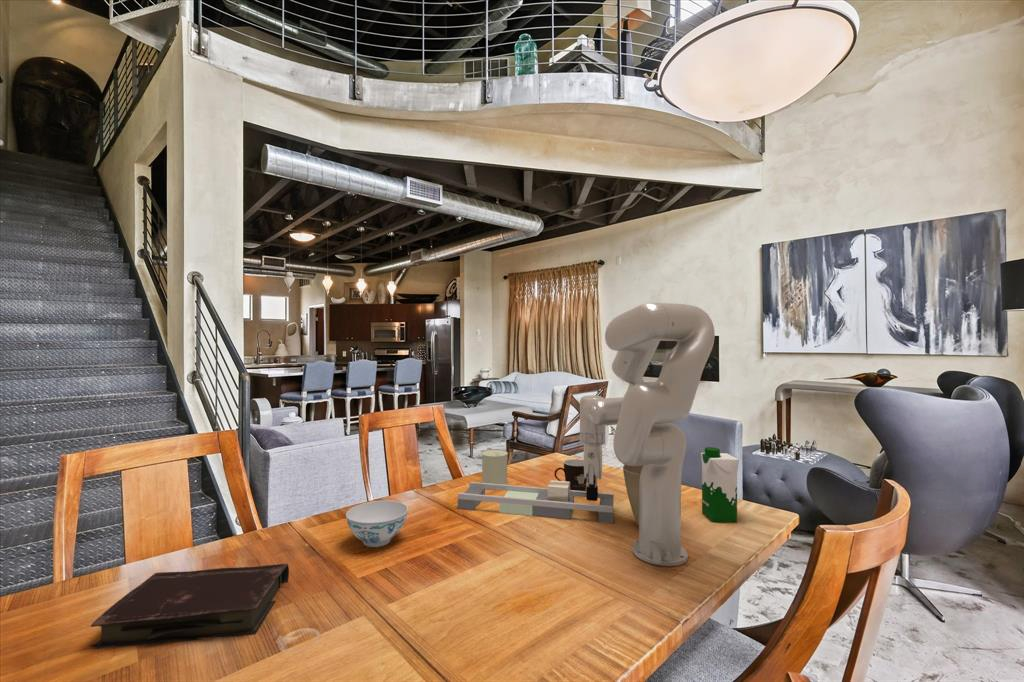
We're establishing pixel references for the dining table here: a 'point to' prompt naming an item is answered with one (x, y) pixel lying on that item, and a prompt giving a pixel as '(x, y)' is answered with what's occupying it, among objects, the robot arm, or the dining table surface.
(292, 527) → the dining table surface
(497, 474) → the can
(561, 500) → the block
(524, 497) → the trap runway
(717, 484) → the milk carton
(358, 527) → the chinaware
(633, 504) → the plant pot
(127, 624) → the diary
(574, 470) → the coffee mug
